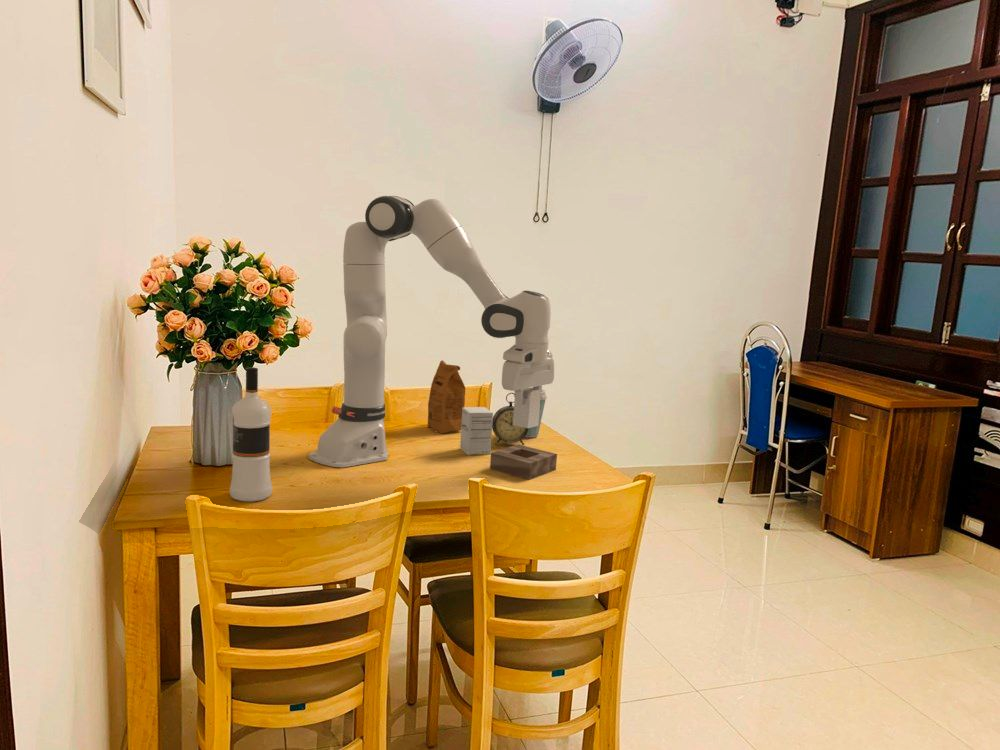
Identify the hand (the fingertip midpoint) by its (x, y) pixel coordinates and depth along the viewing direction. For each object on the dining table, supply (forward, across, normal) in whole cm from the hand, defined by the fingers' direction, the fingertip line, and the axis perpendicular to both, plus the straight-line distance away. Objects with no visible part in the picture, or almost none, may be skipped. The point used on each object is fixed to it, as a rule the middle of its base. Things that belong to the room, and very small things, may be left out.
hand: (527, 403), depth 205 cm
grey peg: (+6, 0, 0) cm, 6 cm away
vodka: (+19, +65, -31) cm, 74 cm away
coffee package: (+19, -17, -43) cm, 50 cm away
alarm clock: (+19, -18, -18) cm, 32 cm away
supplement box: (+19, -4, -20) cm, 28 cm away
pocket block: (+19, 0, 0) cm, 19 cm away
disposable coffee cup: (+19, -32, -20) cm, 42 cm away
